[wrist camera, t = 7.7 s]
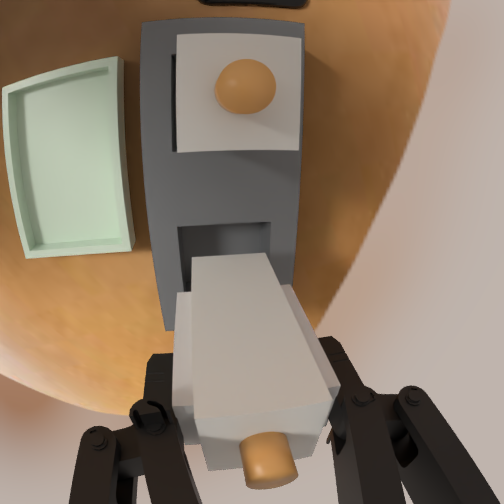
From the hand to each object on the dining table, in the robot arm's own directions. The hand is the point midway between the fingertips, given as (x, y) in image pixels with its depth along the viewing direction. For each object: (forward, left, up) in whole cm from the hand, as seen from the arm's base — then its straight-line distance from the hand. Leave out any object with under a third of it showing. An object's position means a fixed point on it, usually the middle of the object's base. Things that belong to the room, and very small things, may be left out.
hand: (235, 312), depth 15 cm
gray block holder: (0, +5, -9) cm, 10 cm away
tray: (-11, +7, -9) cm, 16 cm away
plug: (0, 0, -3) cm, 3 cm away
